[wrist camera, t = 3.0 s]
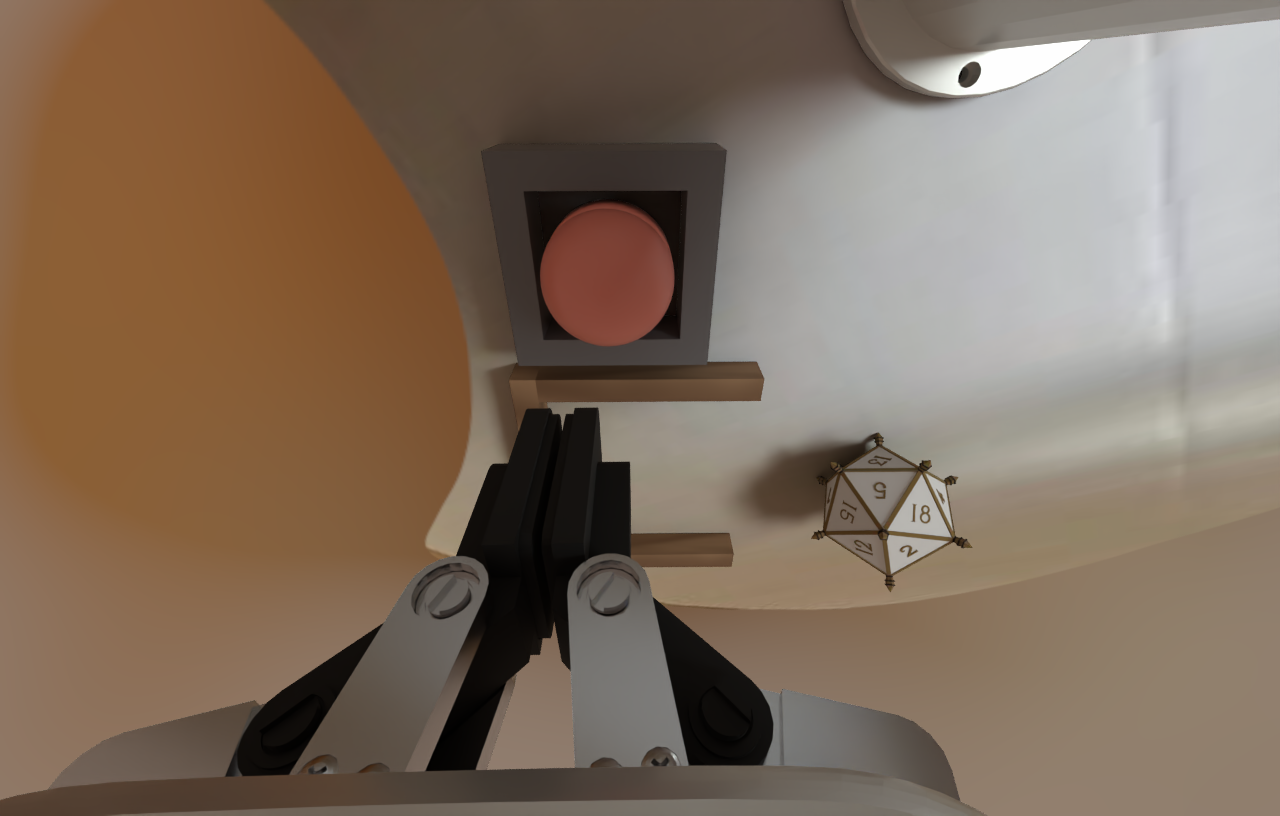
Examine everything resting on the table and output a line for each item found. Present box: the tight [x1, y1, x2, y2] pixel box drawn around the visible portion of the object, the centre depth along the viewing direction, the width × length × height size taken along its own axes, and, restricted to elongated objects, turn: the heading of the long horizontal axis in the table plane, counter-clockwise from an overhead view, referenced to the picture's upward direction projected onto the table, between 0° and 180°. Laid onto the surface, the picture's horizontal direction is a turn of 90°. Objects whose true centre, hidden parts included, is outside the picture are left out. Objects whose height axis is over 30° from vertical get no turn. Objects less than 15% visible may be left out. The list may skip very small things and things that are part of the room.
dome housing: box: [481, 143, 727, 366], centre depth 23 cm, size 10×10×3 cm
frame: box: [509, 362, 764, 567], centre depth 32 cm, size 17×14×2 cm
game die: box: [811, 433, 972, 592], centre depth 29 cm, size 9×8×10 cm
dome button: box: [540, 199, 674, 346], centre depth 21 cm, size 6×6×6 cm
